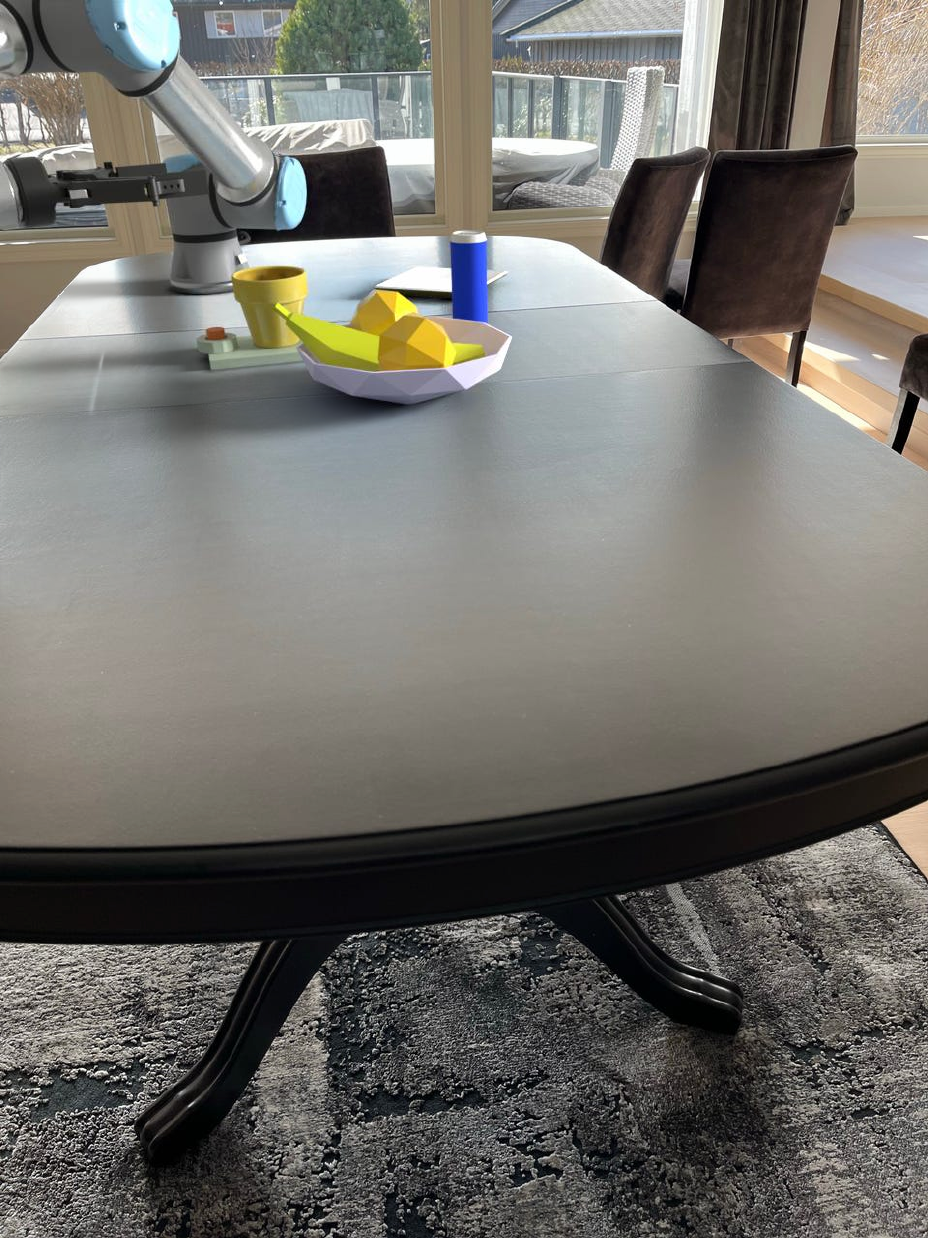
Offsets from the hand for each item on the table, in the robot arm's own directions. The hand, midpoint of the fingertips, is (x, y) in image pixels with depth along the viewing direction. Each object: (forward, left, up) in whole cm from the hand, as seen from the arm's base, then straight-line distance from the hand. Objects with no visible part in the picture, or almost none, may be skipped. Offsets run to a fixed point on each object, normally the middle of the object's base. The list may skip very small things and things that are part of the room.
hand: (186, 177), depth 121 cm
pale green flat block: (-3, +7, -24) cm, 25 cm away
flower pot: (-3, +9, -23) cm, 25 cm away
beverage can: (+1, +37, -24) cm, 44 cm away
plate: (-35, +42, -24) cm, 60 cm away
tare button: (-3, +1, -21) cm, 22 cm away
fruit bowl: (+20, +22, -24) cm, 38 cm away
